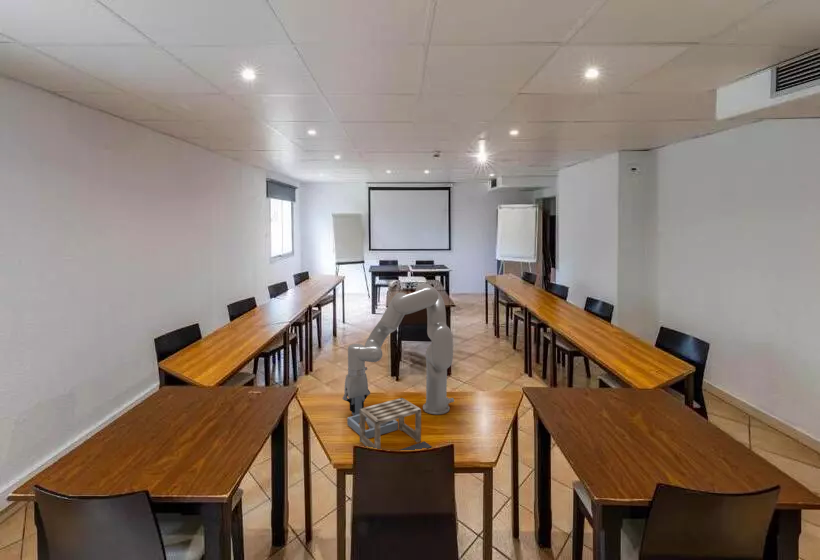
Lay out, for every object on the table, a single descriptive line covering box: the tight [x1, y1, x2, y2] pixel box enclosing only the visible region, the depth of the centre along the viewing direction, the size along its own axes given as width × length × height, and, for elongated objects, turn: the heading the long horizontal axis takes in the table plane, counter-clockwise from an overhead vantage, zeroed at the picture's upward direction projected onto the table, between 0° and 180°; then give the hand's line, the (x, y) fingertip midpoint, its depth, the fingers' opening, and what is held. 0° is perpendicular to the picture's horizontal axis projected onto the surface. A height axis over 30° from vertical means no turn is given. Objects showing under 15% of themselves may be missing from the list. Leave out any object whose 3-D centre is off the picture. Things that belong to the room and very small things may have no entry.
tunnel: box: [359, 397, 422, 449], centre depth 168 cm, size 20×14×14 cm
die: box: [365, 410, 387, 430], centre depth 178 cm, size 8×9×10 cm
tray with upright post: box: [346, 396, 399, 440], centre depth 183 cm, size 16×24×9 cm, turn 34°
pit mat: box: [399, 441, 433, 450], centre depth 163 cm, size 12×5×1 cm, turn 124°
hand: (356, 410), depth 192 cm, fingers closed on tray with upright post, 3 cm apart
